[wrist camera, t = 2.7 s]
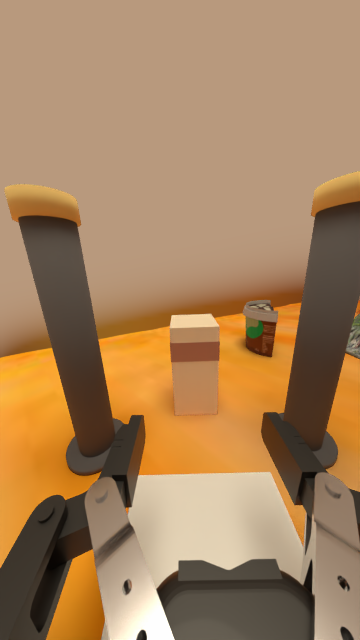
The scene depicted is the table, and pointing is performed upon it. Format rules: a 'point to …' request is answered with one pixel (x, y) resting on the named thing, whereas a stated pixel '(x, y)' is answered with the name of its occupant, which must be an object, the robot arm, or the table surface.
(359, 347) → the tree stump
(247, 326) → the food container
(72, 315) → the gate
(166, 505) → the mat
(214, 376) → the carton
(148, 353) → the table surface
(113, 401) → the table surface
